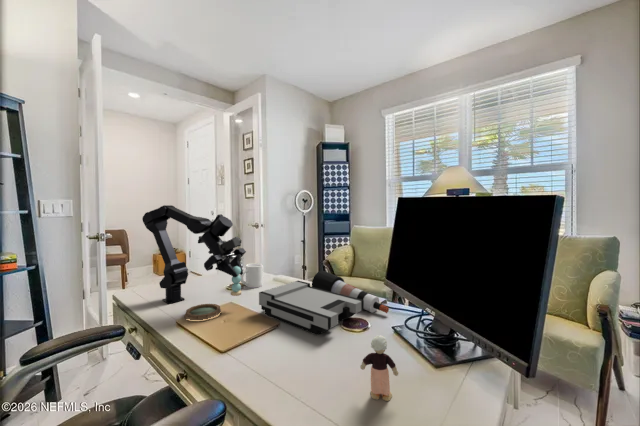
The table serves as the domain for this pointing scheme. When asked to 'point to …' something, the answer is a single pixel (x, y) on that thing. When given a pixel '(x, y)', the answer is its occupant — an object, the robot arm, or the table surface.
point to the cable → (346, 290)
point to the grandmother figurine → (379, 369)
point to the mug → (253, 275)
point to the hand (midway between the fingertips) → (239, 275)
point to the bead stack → (236, 282)
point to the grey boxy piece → (308, 306)
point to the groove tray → (202, 311)
